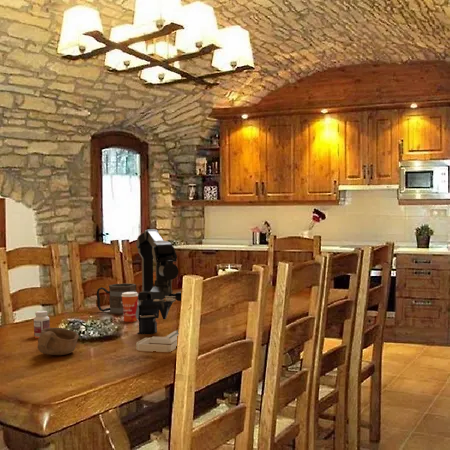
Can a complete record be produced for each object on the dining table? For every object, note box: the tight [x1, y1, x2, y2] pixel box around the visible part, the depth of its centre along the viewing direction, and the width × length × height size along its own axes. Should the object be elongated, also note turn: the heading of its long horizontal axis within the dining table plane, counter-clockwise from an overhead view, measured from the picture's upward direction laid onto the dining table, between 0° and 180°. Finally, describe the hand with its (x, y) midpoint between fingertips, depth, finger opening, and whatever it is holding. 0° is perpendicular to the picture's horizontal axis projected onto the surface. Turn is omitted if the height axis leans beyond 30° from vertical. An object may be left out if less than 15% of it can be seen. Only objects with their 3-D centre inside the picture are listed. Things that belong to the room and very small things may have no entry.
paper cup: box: [121, 291, 139, 323], centre depth 294 cm, size 8×8×14 cm
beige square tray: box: [135, 336, 177, 353], centre depth 242 cm, size 14×14×3 cm
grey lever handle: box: [165, 329, 179, 343], centre depth 240 cm, size 3×10×6 cm
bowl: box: [37, 327, 80, 356], centre depth 232 cm, size 18×14×10 cm
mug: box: [96, 282, 137, 316], centre depth 317 cm, size 20×14×15 cm
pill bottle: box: [33, 310, 51, 339], centre depth 264 cm, size 6×6×11 cm
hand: (164, 319), depth 241 cm, fingers closed
